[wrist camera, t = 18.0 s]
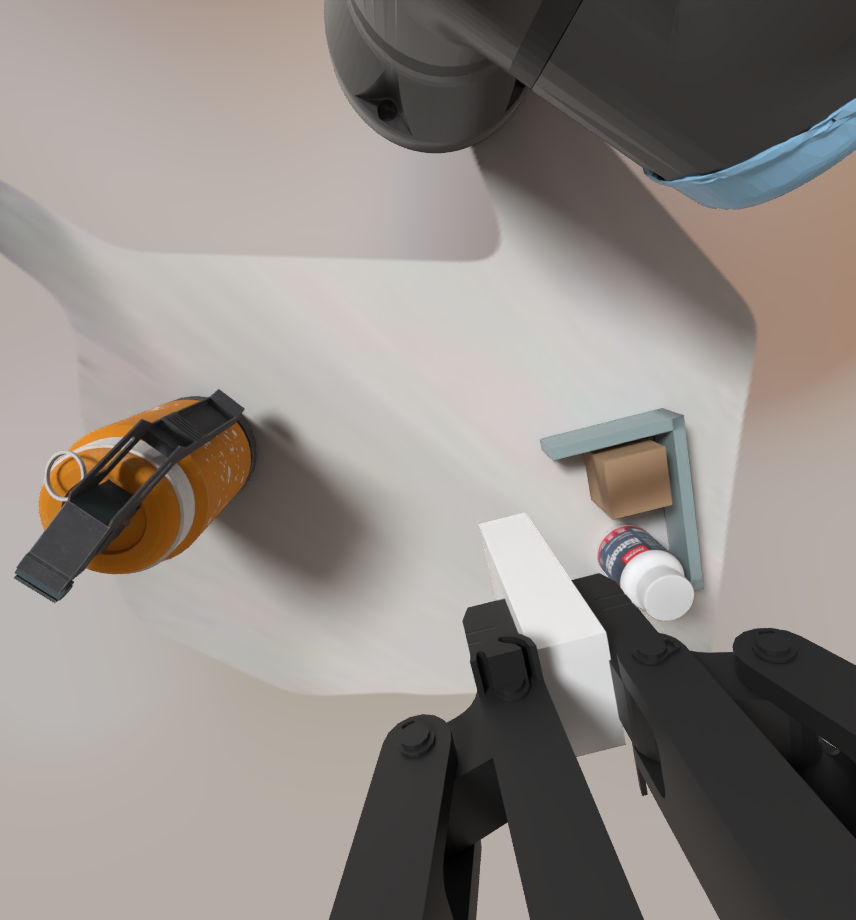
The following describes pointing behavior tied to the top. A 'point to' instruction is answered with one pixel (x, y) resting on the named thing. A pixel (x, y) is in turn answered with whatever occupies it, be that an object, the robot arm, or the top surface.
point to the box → (673, 438)
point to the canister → (138, 491)
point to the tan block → (629, 477)
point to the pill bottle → (645, 572)
